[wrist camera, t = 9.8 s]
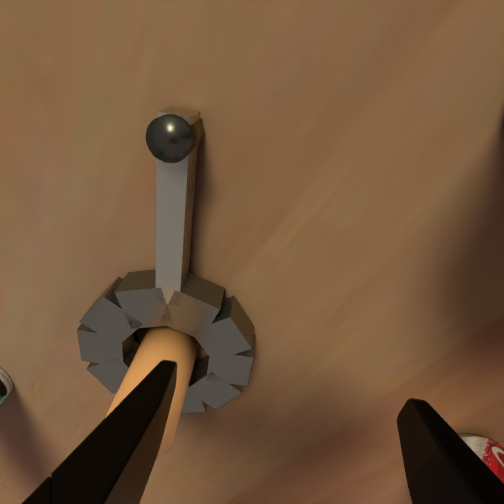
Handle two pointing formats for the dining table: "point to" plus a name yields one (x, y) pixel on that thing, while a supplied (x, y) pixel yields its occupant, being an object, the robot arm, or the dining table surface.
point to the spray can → (4, 385)
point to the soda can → (487, 452)
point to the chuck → (172, 286)
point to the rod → (147, 357)
